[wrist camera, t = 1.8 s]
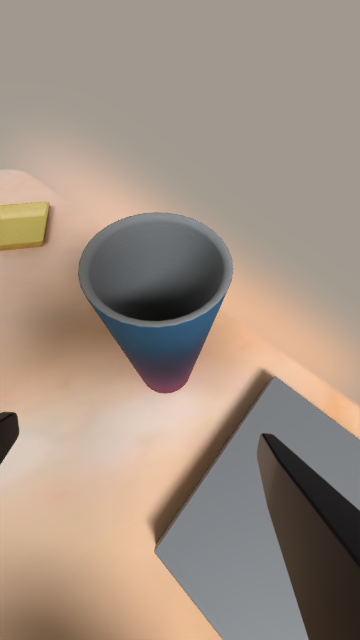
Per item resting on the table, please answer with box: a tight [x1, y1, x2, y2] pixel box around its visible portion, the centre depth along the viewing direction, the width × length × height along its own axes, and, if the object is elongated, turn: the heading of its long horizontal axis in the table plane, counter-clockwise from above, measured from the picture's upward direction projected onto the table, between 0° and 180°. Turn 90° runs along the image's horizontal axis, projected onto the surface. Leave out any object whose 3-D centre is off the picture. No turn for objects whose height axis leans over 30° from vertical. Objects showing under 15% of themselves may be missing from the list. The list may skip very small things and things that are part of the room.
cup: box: [78, 213, 233, 393], centre depth 17 cm, size 7×7×15 cm
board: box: [154, 376, 360, 640], centre depth 16 cm, size 20×16×2 cm
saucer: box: [0, 202, 49, 251], centre depth 32 cm, size 9×9×2 cm
